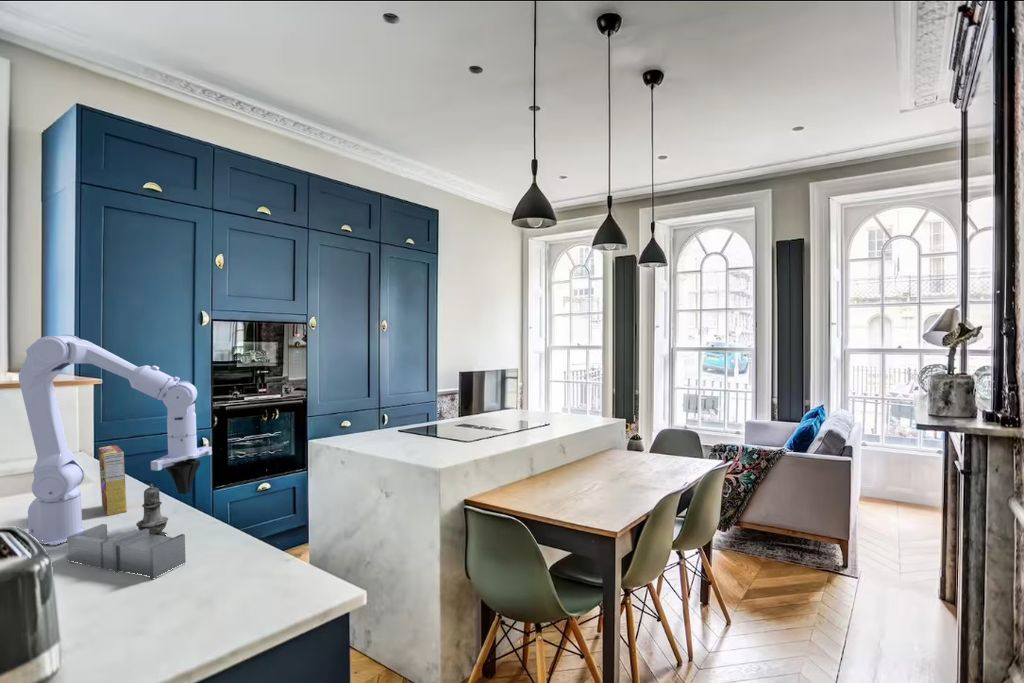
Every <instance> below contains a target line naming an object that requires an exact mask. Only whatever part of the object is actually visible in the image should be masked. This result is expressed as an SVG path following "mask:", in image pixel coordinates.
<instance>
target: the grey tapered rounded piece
mask: <svg viewBox="0 0 1024 683" xmlns="http://www.w3.org/2000/svg"><path fill="white" fill-rule="evenodd" d="M160 497H161V496H160V489H159V488H158V487H156V486H155V487H154V484H153V483H152V482H151V483H150V484H149V487H148V488H146V489H145V490H144V491H143V504H142V505H141V507H142V508H143V517H142V519H141V520H139V521H138V522H136V524H135V525H136V527H137V529H138V530H140V531H141V530H143V529H146V528H147V529H149V534H153V535H160V536H166V535H165V534H167V535H168V533H167V532H165V531H164V530H165V528H166V526H167V524H168V521H169V517H167V516H163V515H162V512H161V505H162V504H163V503H162V501H161V500H160ZM166 537H167V536H166Z"/></svg>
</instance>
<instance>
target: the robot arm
mask: <svg viewBox="0 0 1024 683" xmlns="http://www.w3.org/2000/svg"><path fill="white" fill-rule="evenodd" d="M25 352H26V357H25V359H24V360H23V361H24V362H23V364H22V366H21V369H20V371H19V372H18V373H19V374H18V382H19V387H20V390H21V394H22V400H23V402H24V406H25V407H24V408H25V410H26V415H27V420H28V423H29V428H30V432H31V435H32V436H31V437H32V440H33V444H34V449H35V453H36V456H37V458H36V462H35V464H34V466H33V470H32V471H33V472H32V473H33V482H32V484H31V492H32V494H33V495H34V497H35V498H34V500H32V502H31V503H30V504H29V505H28V509H27V521H28V522H27V524H28V525H27V526H28V535H29V534H31V535H32V536H33V537H35V538H36V539H37V540H38V541H39V542H40V543H39V544H43V543H47V544H50V545H49V546H52V545H53V546H54V545H56V546H58V545H57V544H59V545H60V543H61V544H64V543H66V542H65V541H67V537H68V536H71V535H73V534H76V533H79V532H82V531H84V530H87V529H88V528H83V516H82V515H83V514H82V512H83V510H82V491H81V489H80V485H81V484H82V483H83V481H84V480H85V474H86V472H85V470H84V468H83V466H82V465H81V464H80V463H79V462H78V461H77V457H76V455H75V454H74V453H73V452H72V451H71V450H70V449H69V446H68V441H67V438H66V432H65V428H64V423H63V420H62V415H61V411H60V407H59V403H58V399H57V398H58V397H57V394H56V389H55V385H54V381H53V380H54V379H55V378H57V376H58V375H59V374H60V373H61V372H62V371H63V370H64V369H65V368H67V367H68V366H71V365H75V364H81V365H82V364H91V365H93V366H95V367H98V368H100V369H102V370H105V371H108V372H110V373H113V374H114V375H118V376H119V377H121V378H125V379H127V380H128V381H129V384H130V387H131V388H132V389H135V390H137V391H138V392H141V393H143V394H145V395H147V396H150V397H152V398H154V399H156V400H158V401H162V402H163V405H164V406H166V410H167V417H166V425H167V427H166V428H167V429H166V430H167V431H166V432H167V453H168V454H166V455H163V456H162V457H160V458H157V459H155V460H151V461H150V470H151V471H161V470H162V469H166V471H167V472H168V473H169V474H170V476H171V478H172V480H173V481H174V485H175V486H176V490H177V494H181V495H187V494H189V493H190V492H191V488H192V485H193V481H194V478H195V475H196V473H197V471H198V469H199V467H200V466H201V460H198V458H202V457H204V456H205V457H206V456H211V455H213V450H212V448H213V447H212V446H208V445H206V446H205V445H204V446H200V447H198V446H197V445H198V443H197V442H198V441H197V438H198V436H197V414H196V403H195V401H196V399H197V397H198V390H197V387H196V386H195V385H194V384H192V383H191V382H190V381H187V380H181V378H180V377H179V376H174V377H173V376H171V375H169V374H168V373H165V372H163V371H161V370H160V367H159V366H157V365H152V366H151V365H147V364H145V365H142V366H137V365H135V364H133V363H131V362H129V361H127V360H125V359H123V358H121V357H120V356H118V355H116V354H114V353H112V352H110V351H108V350H107V349H104V348H102V347H101V346H99V345H96V344H95V343H93V342H91V341H89V340H86V339H81V338H80V337H78V336H75V335H73V334H62V335H56V336H55V335H47V336H46V335H45V336H43V337H40V338H38V339H37V340H35V342H33V343H32V344H31V345H30V346H29V347H27V348H26V351H25ZM42 540H43V541H42ZM63 542H64V543H63ZM43 545H44V544H43ZM53 546H52V547H53Z"/></svg>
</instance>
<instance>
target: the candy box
mask: <svg viewBox="0 0 1024 683" xmlns="http://www.w3.org/2000/svg"><path fill="white" fill-rule="evenodd" d="M124 452H125V451H123V450H122V449H121V448H120V447H119V446H118V445H108V446H103V447H98V461H99V475H100V476H99V478H100V479H99V480H100V491H101V493H100V494H101V506H102V508H103V509H104V512H105V513H106V516H113V515H118V514H123V513H126V512H127V511H128V509H127V492H126V473H125V471H126V470H125V454H124Z"/></svg>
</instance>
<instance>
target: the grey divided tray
mask: <svg viewBox="0 0 1024 683" xmlns="http://www.w3.org/2000/svg"><path fill="white" fill-rule="evenodd" d="M86 529H87V530H84V531H82V532H79V533H76V534H73V535H71V536H68V537H67V542H66V548H67V561H68V560H69V561H74V562H78V563H82V564H85V565H84V566H88V565H90V566H89V567H93V566H94V568H98V567H100V569H103V568H106V569H105V570H108V569H111V570H110V571H113V572H114V571H115V572H114V573H118V572H117V571H123V572H122V573H124V572H130V573H135V574H137V573H138V574H142V575H147V576H150V577H149V579H150V578H156V577H157V576H159V575H161V574H163V573H165V572H167V571H168V570H171V569H172V568H175V567H177V566H179V565H181V564H183V563H185V562H187V561H186V535H185V534H183V533H181V534H178V535H175V536H174V537H171V536H160V535H153V534H149V529H147V528H146V529H143V530H141V531H140V530H139V529H138V528H137V529H136V528H134V529H132V530H128V531H125V532H123V533H121V534H119V535H117V536H114V537H111V538H109V539H108V524H105V523H102V524H99V525H96V526H94V527H93V526H92V527H91V528H86ZM82 564H81V565H82ZM135 574H134V575H135ZM156 579H157V578H156Z"/></svg>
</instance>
